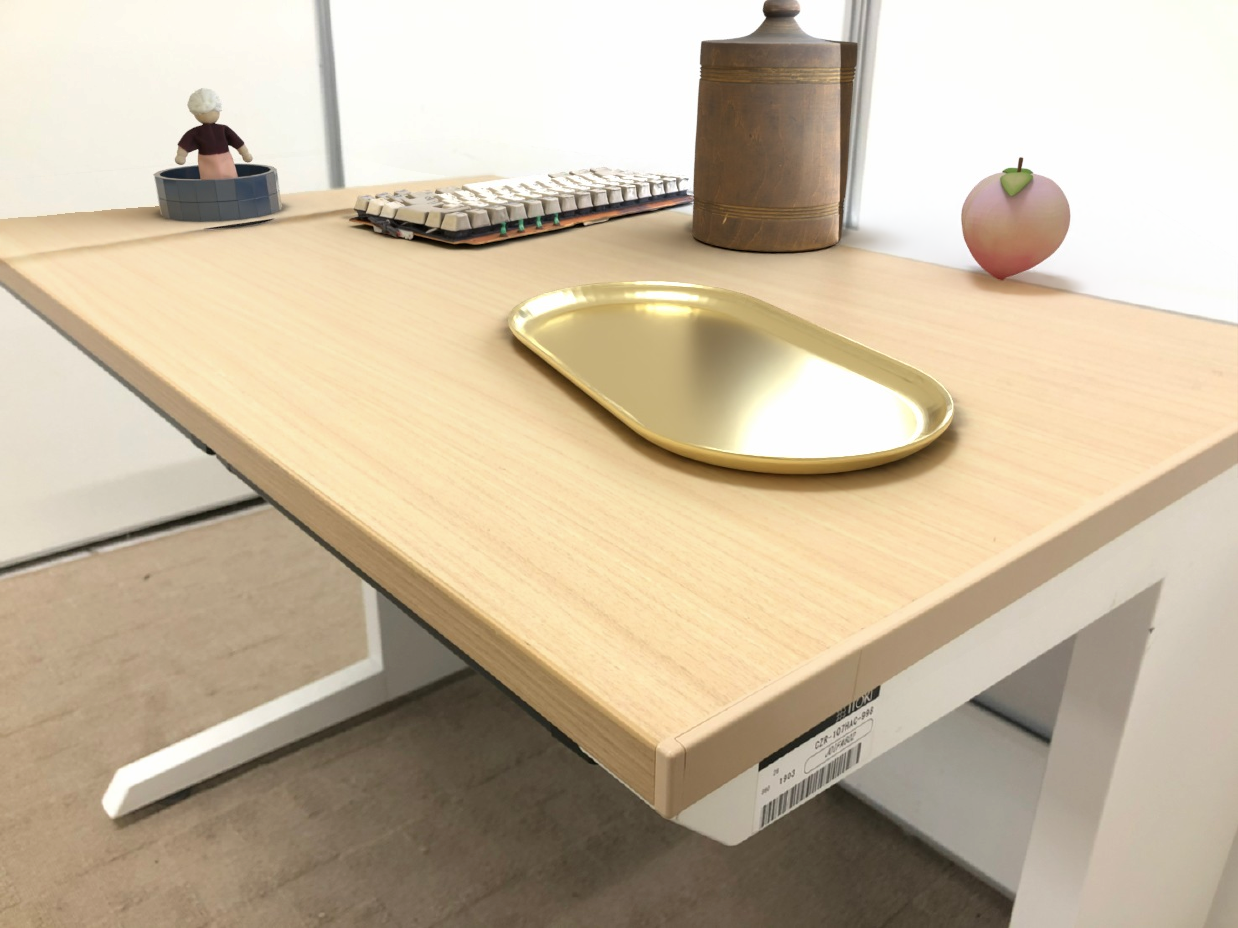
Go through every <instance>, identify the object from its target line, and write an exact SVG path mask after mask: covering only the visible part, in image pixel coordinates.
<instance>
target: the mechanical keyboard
mask: <svg viewBox="0 0 1238 928" xmlns="http://www.w3.org/2000/svg"><path fill="white" fill-rule="evenodd" d="M689 190H691V186H690V176H689V175H681V174H678V175H675V176H674V174H673V173H667V172H663V173H659V174H658V173H649V172H648V173H641V172H637V171H636V172H635V171H631V172H628V171H626V170H623V169H620V168H616V169H611V168H609V167H606V166H601V167H596V168H592V167H591V168H589V170H588V169H584V168H583V169H580V170H570V171H569V172H565V171H563V172H558V173H557V172H556V173H548V174H547V175H546V174H532V175H526V176H525V175H524V176H515V177H509V178H500V179H494V180H487V181H486V180H485V181H479V182H478V181H477V182H472V183H471V182H470V183H463V184H462V185H461V188H460V187H458V186H456V185H453V186H449V187H439V188H435V190H434V191H432V190H430V189H425V190H422V191H416V192H415V191H414V192H412V191H410V190H408V189H400V190H394V191H393V194H391V193H390V192H385V191H384V192H382V193H375V196H373V195H372V194H366V195H357V198H356V201H355V204H354V206H353V210H354V211H355V212H356V214H357V216H354V217H351V218H348V222H350V223H351V222H352V223H357V224H363V225H366V226H371V227H373V231H374V233H380V234H384V235H389V236H393V237H394V238H403V239H405V240H409V241H411V240H412V239H413V238H414V236H417V237H422V238H426V239H431V240H434V241H439V242H443V243H447V244H452V245H458V244H468V245H475V246H476V245H481V244H487V243H493V242H498V241H505V240H508V239H514V238H519V237H523V236H528V235H534V234H540V233H544V232H549V231H555V230H560V229H564V228H570V227H573V226H575V225H577V224H583V225H584V226H589V225H593V224H598V223H603V222H608V221H609V219H610V218H616V217H621V216H626V215H630V214H631V215H632V214H636V213H642V212H648V211H650V212H652V211H657V210H659V209H662V208H667V207H668V208H669V207H674V206H678V205H684V204H685V205H686V204H689V203H693V202H694V201H693V199H694V198H693V196H694V194H688V191H689Z"/></svg>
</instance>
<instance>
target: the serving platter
mask: <svg viewBox="0 0 1238 928" xmlns="http://www.w3.org/2000/svg"><path fill="white" fill-rule="evenodd" d="M507 322H508V327H509V329H510V331H511V333H512V334H513V335H514V337H515V338H516V339H517V340H518V341H519V342H520V343H521V344H523V345H524V346H525V347H526V348H528V349H529V350H531V352H532V353H534V354H536V356H538V357H539V358H540V359H542V360H543V361H544V362H546V363H547V364H548V365H550V367H552V368H553V369H555V370H556V371H557V372H558V373H559V374H561V375H562V376H563V377H565V378H566V379H567V380H569V381H570V383H573V384H574V385H575V386H576V387H577V388H578V389H580V390H581V391H583V392H584V393H585V394H586V395H588V396H589V397H590V398H592V400H594V401H595V402H597V403H598V404H599V405H600V406H602V407H603V408H604V409H606V410H607V411H608V412H609V413H610V414H612V415H613V416H614V417H616V419H618V420H620V421H621V422H622V423H623V424H625V426H627V427H628V428H630V429H631V430H632V431H634V433H636V434H637V435H639V436H641V438H643V439H645V440H647V441H648V442H650V443H652V444H654V445H656V446H658V447H659V448H662V449H664V450H667V451H669V452H671V453H674V454H676V455H679V456H682V457H684V458H688V459H690V460H694V461H697V462H701V463H705V464H709V465H713V466H718V467H721V468H722V467H723V468H728V469H732V470H739V471H746V472H755V473H763V474H764V473H765V474H777V475H818V474H819V475H824V474H837V473H845V472H852V471H859V470H860V471H861V470H865V469H869V468H874V467H878V466H882V465H887V464H890V463H892V462H895V461H898V460H902V459H905V458H906V457H908V456H910V455H913V454H915V453H917V452H919V451H920V450H922V449H924V448H926V447H927V446H929V445H930V444H932V443H933V442H934V441H936V440H937V439H938V438H939V437H940V436H942V434H943V433H944V432H945V431H946V430H947V429H948V428H949V426H950V424H951V423H952V421H953V418H954V415H955V403H954V399H953V397H952V395H951V393H950V392H949V391H948V389H947V388H946V387H945V386H944V385H943V384H942V383H941V382H940V381H938V380H937V379H936V378H934V377H933V376H931V375H930V374H928V373H926V372H925V371H923V370H921V369H919V368H917V367H915V366H913V365H910V364H908V363H905V362H904V361H901V360H899V359H896V358H894V357H893V356H890V355H887V354H885V353H883V352H880V351H879V350H876V349H874V348H871V347H869V346H867V345H864V344H863V343H860V342H858V341H856V340H853V339H851V338H849V337H846V336H844V335H842V334H839V333H837V332H835V331H833V330H831V329H828V328H825V327H823V326H821V325H818V324H817V323H814V322H812V321H811V320H810V321H809V320H808V319H805V318H803V317H800V316H798V315H796V314H793V313H792V312H789V311H787V310H784V309H782V308H780V307H778V306H776V305H773V304H771V303H769V302H766V301H764V300H762V299H760V298H757V297H754V296H752V295H749V294H746V293H742V292H739V291H735V290H731V289H726V288H721V287H715V286H709V285H703V284H695V283H688V282H687V283H686V282H674V281H673V282H672V281H653V280H651V281H649V280H647V281H646V280H645V281H644V280H638V281H637V280H634V281H633V280H631V281H610V282H598V283H589V284H588V283H587V284H581V285H574V286H568V287H563V288H558V289H554V290H549V291H547V292H543V293H540V294H537V295H534V296H532V297H529V298H527V299H526V300H524V301H521V302H520V303H519V304H516V306H515V307H514V308H512V310H511V311H510V312H509V314H508V317H507Z"/></svg>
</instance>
